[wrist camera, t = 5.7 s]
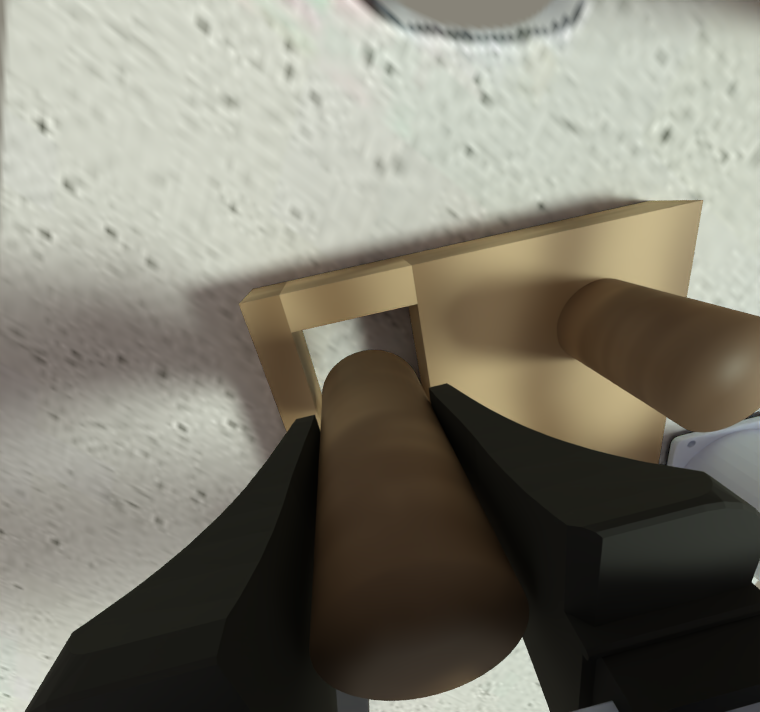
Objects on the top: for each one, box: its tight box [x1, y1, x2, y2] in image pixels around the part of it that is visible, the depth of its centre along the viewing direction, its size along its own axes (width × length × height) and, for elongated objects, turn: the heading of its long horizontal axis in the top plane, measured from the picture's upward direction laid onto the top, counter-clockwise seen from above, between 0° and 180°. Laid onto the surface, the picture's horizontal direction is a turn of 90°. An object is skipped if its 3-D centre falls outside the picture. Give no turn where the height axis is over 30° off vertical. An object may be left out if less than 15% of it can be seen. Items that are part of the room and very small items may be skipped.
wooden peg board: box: [239, 200, 760, 464], centre depth 16 cm, size 18×18×8 cm
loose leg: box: [309, 350, 529, 701], centre depth 9 cm, size 4×4×8 cm
